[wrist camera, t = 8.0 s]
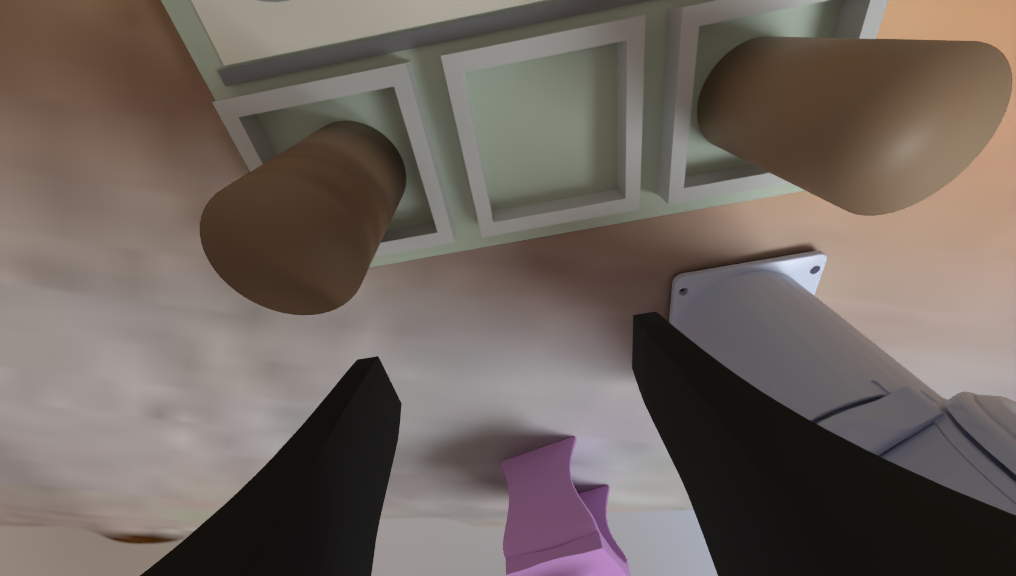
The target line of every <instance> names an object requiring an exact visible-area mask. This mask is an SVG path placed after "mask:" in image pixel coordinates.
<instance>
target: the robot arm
mask: <svg viewBox="0 0 1016 576" xmlns="http://www.w3.org/2000/svg"><path fill="white" fill-rule="evenodd" d="M826 260H827V256H826V254H824V253H823V252H821V251H811V252H805V253H799V254H793V255H787V256H781V257H775V258H769V259H764V260H758V261H752V262H746V263H740V264H734V265H728V266H722V267H717V268H711V269H705V270H699V271H693V272H687V273H682V274H679V275H677V276H676V277H675V278H674V279H673V282H672V292H671V303H670V314H669V322H668V321H667V320H666V319H665V318H663V317H662V316H661V315H660V314H658V313H657V312H651V313H644V314H638V315H633V353H632V369H633V372H634V375H635V378H636V381H637V384H638V387H639V390H640V392H641V395H642V398H643V401H644V403H645V405H646V407H647V409H648V412H649V414H650V416H651V418H652V420H653V422H654V424H655V426H656V428H657V430H658V432H659V434H660V436H661V438H662V440H663V443H664V445H665V447H666V449H667V451H668V453H669V455H670V457H671V459H672V461H673V463H674V465H675V467H676V469H677V471H678V473H679V475H680V477H681V480H682V482H683V484H684V486H685V489H686V491H687V493H688V496H689V498H690V501H691V504H692V506H693V509H694V511H695V514H696V517H697V519H698V522H699V525H700V527H701V530H702V532H703V535H704V538H705V540H706V544H707V546H708V549H709V552H710V555H711V557H712V560H713V562H714V566H715V568H716V571H717V574H718V576H1016V402H1014V401H1012V400H1010V399H1008V398H1005V397H1001V396H989V395H977V394H975V393H970V392H961V393H958V394H957V395H955V396H954V397H952V398H951V399H949V400H947V399H944V398H942V397H941V396H940V395H938V394H937V393H936V392H935V391H933V390H932V389H931V388H930V387H928V386H927V385H926V384H925V383H923V382H922V381H921V380H920V379H918V378H917V377H916V376H915V375H913V374H912V373H911V372H910V371H908V370H907V369H906V368H905V367H903V366H902V365H901V364H900V363H898V362H897V361H896V360H895V359H893V358H892V357H891V356H889V355H888V354H887V353H886V352H884V351H883V350H882V349H881V348H879V347H878V346H877V345H876V344H874V343H873V342H872V341H871V340H869V339H868V338H867V337H866V336H864V335H863V334H862V333H861V332H859V331H858V330H857V329H856V328H854V327H853V326H852V325H851V324H849V323H848V322H847V321H846V320H844V319H843V318H842V317H841V316H839V315H838V314H837V313H836V312H834V311H833V310H832V309H830V308H829V307H828V306H827V305H825V304H824V303H823V302H822V301H820V300H819V299H818V298H817V297H815V296H814V294H815V292H816V289H817V286H818V283H819V280H820V277H821V275H822V272H823V269H824V266H825V263H826ZM811 268H812V269H811ZM683 288H685V289H684V290H683V291H681V292H679V291H680V290H681V289H683ZM400 414H401V402H400V400H399V398H398V396H397V394H396V392H395V390H394V388H393V386H392V383H391V381H390V379H389V377H388V375H387V373H386V371H385V369H384V367H383V365H382V363H381V361H380V359H379V357H371V358H365V359H359V360H357V361H356V362H355V363H354V364H353V365H352V366H351V368H350V369H349V370H348V371H347V372H346V374H345V375H344V376H343V377H342V378H341V380H340V381H339V382H338V383H337V385H336V386H335V387H334V388H333V389H332V391H331V392H330V393H329V394H328V395H327V397H326V398H325V399H324V400H323V401H322V403H321V404H320V405H319V406H318V407H317V409H316V410H315V411H314V412H313V413H312V414H311V416H310V417H309V418H308V419H307V420H306V422H305V423H304V424H303V425H302V426H301V427H300V428H299V429H298V431H297V432H296V433H295V434H294V435H293V436H292V437H291V438H290V439H289V440H288V442H287V443H286V444H285V445H284V446H283V447H282V448H281V449H280V450H279V451H278V453H277V454H276V455H275V456H274V457H273V458H272V459H271V460H270V461H269V462H268V463H267V464H266V465H265V466H264V467H263V468H262V469H261V470H260V471H259V472H258V473H257V474H256V475H255V476H254V477H253V478H252V479H251V480H250V481H249V482H248V483H247V484H246V485H245V486H244V487H243V488H242V489H241V490H240V491H239V492H238V493H237V494H236V495H235V496H234V497H232V498H231V499H230V500H229V501H228V502H227V503H226V504H225V505H224V506H223V507H222V508H220V509H219V510H218V511H217V512H216V513H215V514H213V515H212V516H211V517H210V518H209V519H208V520H207V521H205V522H204V523H203V524H202V525H201V526H200V527H199V528H197V529H196V530H195V531H194V532H193V533H192V534H191V535H189V536H188V537H187V538H186V539H185V540H184V541H183V542H181V543H180V544H179V545H178V546H177V547H175V548H174V549H173V550H172V551H170V552H169V553H168V554H167V555H165V556H164V557H163V558H162V559H161V560H160V561H158V562H157V563H156V564H154V565H153V566H152V567H151V568H149V569H148V570H147V571H145V572H144V573H143V574H142V575H140V576H371V572H372V564H373V557H374V549H375V542H376V536H377V531H378V525H379V520H380V516H381V511H382V507H383V503H384V498H385V494H386V490H387V485H388V481H389V477H390V472H391V468H392V464H393V459H394V455H395V450H396V446H397V441H398V435H399V426H400Z"/></svg>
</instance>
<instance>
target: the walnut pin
mask: <svg viewBox="0 0 1016 576" xmlns="http://www.w3.org/2000/svg"><path fill="white" fill-rule="evenodd" d="M405 188H406V169H405V165H404V162H403V160H402V157H401V155H400V153H399V152H398V150H397V149H396V147H395V146H394V144H393V143H392V142H391V141H390V140H389V139H388V138H387V137H386V136H385V135H384V134H382V133H381V132H379V131H378V130H376V129H375V128H373V127H371V126H368V125H366V124H363V123H360V122H355V121H338V122H334V123H330V124H328V125H326V126H324V127H322V128H321V129H319V130H317V131H316V132H314V133H313V134H311V135H309V136H308V137H306V138H304V139H303V140H301V141H300V142H298V143H296V144H295V145H293V146H291V147H290V148H288V149H287V150H285V151H283V152H282V153H280V154H279V155H277V156H275V157H274V158H272V159H270V160H269V161H267V162H266V163H264V164H262V165H261V166H259V167H257V168H256V169H254V170H253V171H251V172H249V173H248V174H246V175H245V176H243V177H241V178H240V179H238V180H236V181H235V182H233V183H232V184H230V185H228V186H227V187H225V188H224V189H222V190H221V191H219V192H218V193H216V194H215V195H214V196H213V197H212V198H211V199H210V200H209V202H208V203H207V205H206V207H205V208H204V211H203V213H202V216H201V221H200V237H201V243H202V246H203V249H204V252H205V254H206V256H207V258H208V260H209V262H210V263H211V265H212V266H213V268H214V269H215V271H216V272H217V273H218V274H219V276H220V277H221V278H222V279H223V280H224V281H225V282H226V283H227V284H228V285H229V286H231V287H232V288H233V289H234V290H235V291H237V292H238V293H240V294H241V295H243V296H244V297H246V298H247V299H249V300H251V301H253V302H254V303H257V304H259V305H261V306H263V307H266V308H269V309H272V310H275V311H278V312H282V313H288V314H295V315H314V314H321V313H325V312H329V311H332V310H334V309H337V308H339V307H340V306H342V305H344V304H345V303H346V302H348V301H349V300H350V299H351V298H352V297H353V296H354V295H355V294H356V292H357V291H358V289H359V287H360V285H361V283H362V281H363V279H364V277H365V275H366V273H367V270H368V268H369V266H370V264H371V262H372V260H373V258H374V256H375V253H376V251H377V249H378V247H379V245H380V243H381V241H382V239H383V236H384V234H385V232H386V230H387V228H388V226H389V224H390V222H391V219H392V217H393V215H394V213H395V211H396V209H397V207H398V205H399V202H400V200H401V198H402V196H403V194H404V191H405Z"/></svg>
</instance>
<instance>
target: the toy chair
mask: <svg viewBox="0 0 1016 576" xmlns="http://www.w3.org/2000/svg"><path fill="white" fill-rule="evenodd" d="M575 443H576V437H575V436H573V437H570V438H567V439H564V440H562V441H559V442H556V443H553V444H550V445H547V446H544V447H542V448H539V449H536V450H533V451H530V452H527V453H524V454H521V455H519V456H516V457H513V458H510V459H507V460H504V461H502V462H500V464H501V467H502V469H503V471H504V474H505V477H506V480H507V484H508V489H509V509H508V516H507V522H506V527H505V533H504V541H503V551H504V555H505V558H506V575H508V576H631V575H630V571H629V568H628V567H629V565H628V562H627V559H626V557H625V555H624V554H623V552H622V551H621V549H620V548H619V546H618V545H617V544H616V542H615V540H614V539H613V537H612V535H611V533H610V530H609V527H608V524H607V502H608V495H609V490H610V487H609V486H608V485H606V486H602V487H599V488H596V489H593V490H590V491H586V492H583V493H580V494H578V493H577V491H576V489H575V487H574V485H573V482H572V478H571V460H572V455H573V450H574V447H575Z"/></svg>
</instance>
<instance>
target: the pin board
mask: <svg viewBox="0 0 1016 576" xmlns="http://www.w3.org/2000/svg"><path fill="white" fill-rule="evenodd" d="M161 2H162V3H163V5H164V7H165V9H166V11H167V13H168V14H169V16H170V18H171V20H172V22H173V24H174V25H175V27H176V29H177V31H178V33H179V35H180V36H181V38H182V40H183V42H184V44H185V46H186V47H187V49H188V51H189V53H190V55H191V57H192V59H193V60H194V62H195V64H196V66H197V68H198V70H199V71H200V73H201V75H202V77H203V79H204V81H205V82H206V84H207V86H208V88H209V90H210V92H211V93H212V95H213V97H214V99H215V101H214V102H212V104H213V105H214V107H215V109H216V111H217V113H218V114H219V116H220V118H221V120H222V122H223V124H224V125H225V127H226V129H227V131H228V133H229V134H230V136H231V138H232V140H233V142H234V144H235V145H236V147H237V149H238V151H239V153H240V154H241V156H242V158H243V160H244V162H245V164H246V165H247V167H248V169H249V171H250V172H251V171H253V170H254V169H256V168H257V167H259V166H261V165H262V164H264V163H266V162H267V161H269V160H270V159H272V158H274V157H275V156H277V155H279V154H280V153H282V152H283V151H285V150H287V149H288V148H290V147H291V146H293V145H295V144H296V143H298V142H300V141H301V140H303V139H304V138H306V137H308V136H309V135H311V134H313V133H314V132H316V131H317V130H319V129H321V128H322V127H324V126H326V125H328V124H330V123H334V122H338V121H355V122H360V123H363V124H366V125H368V126H371V127H373V128H375V129H376V130H378V131H379V132H381V133H382V134H384V135H385V136H386V137H387V138H388V139H389V140H390V141H391V142H392V143H393V144H394V146H395V147H396V149H397V150H398V152H399V153H400V155H401V157H402V160H403V162H404V165H405V169H406V188H405V191H404V194H403V196H402V198H401V200H400V202H399V205H398V207H397V209H396V211H395V213H394V215H393V217H392V219H391V222H390V224H389V226H388V228H387V230H386V232H385V234H384V236H383V239H382V241H381V243H380V245H379V247H378V249H377V251H376V253H375V256H374V258H373V260H372V262H371V264H370V266H369V268H370V267H376V266H381V265H387V264H393V263H398V262H404V261H410V260H415V259H421V258H426V257H432V256H438V255H443V254H449V253H455V252H460V251H466V250H472V249H477V248H483V247H489V246H494V245H500V244H506V243H511V242H517V241H523V240H528V239H534V238H539V237H545V236H551V235H556V234H562V233H568V232H573V231H579V230H585V229H590V228H596V227H602V226H607V225H613V224H619V223H624V222H630V221H636V220H641V219H647V218H653V217H658V216H664V215H669V214H675V213H681V212H686V211H692V210H698V209H703V208H709V207H715V206H720V205H726V204H732V203H737V202H743V201H749V200H754V199H760V198H766V197H771V196H777V195H782V194H788V193H794V192H799V191H805V190H806V191H808V192H810V193H812V194H814V195H816V196H818V197H820V198H822V199H824V200H826V201H828V202H830V203H832V204H834V205H836V206H838V207H840V208H842V209H844V210H846V211H848V212H851V213H854V214H858V215H868V216H874V215H882V214H887V213H892V212H895V211H898V210H901V209H904V208H907V207H909V206H911V205H914V204H916V203H918V202H920V201H922V200H924V199H925V198H927V197H929V196H930V195H932V194H934V193H935V192H937V191H938V190H940V189H941V188H943V187H944V186H945V185H947V184H948V183H949V182H951V181H952V180H953V179H954V178H955V177H957V176H958V175H959V174H960V173H961V172H962V171H963V170H964V169H965V168H967V167H968V166H969V164H970V163H971V162H972V161H973V160H974V159H975V158H976V157H977V156H978V155H979V153H980V152H981V151H982V150H983V149H984V147H985V146H986V145H987V143H988V142H989V140H990V139H991V138H992V136H993V135H994V133H995V131H996V130H997V128H998V126H999V124H1000V123H1001V120H1002V118H1003V116H1004V114H1005V112H1006V109H1007V106H1008V103H1009V100H1010V95H1011V91H1012V73H1011V68H1010V65H1009V62H1008V60H1007V59H1006V57H1005V56H1004V54H1003V53H1002V52H1001V51H999V50H998V49H997V48H996V47H994V46H992V45H990V44H987V43H983V42H978V41H945V40H901V39H876V37H877V34H878V31H879V28H880V24H881V21H882V18H883V15H884V12H885V9H886V6H887V2H888V0H161Z"/></svg>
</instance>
